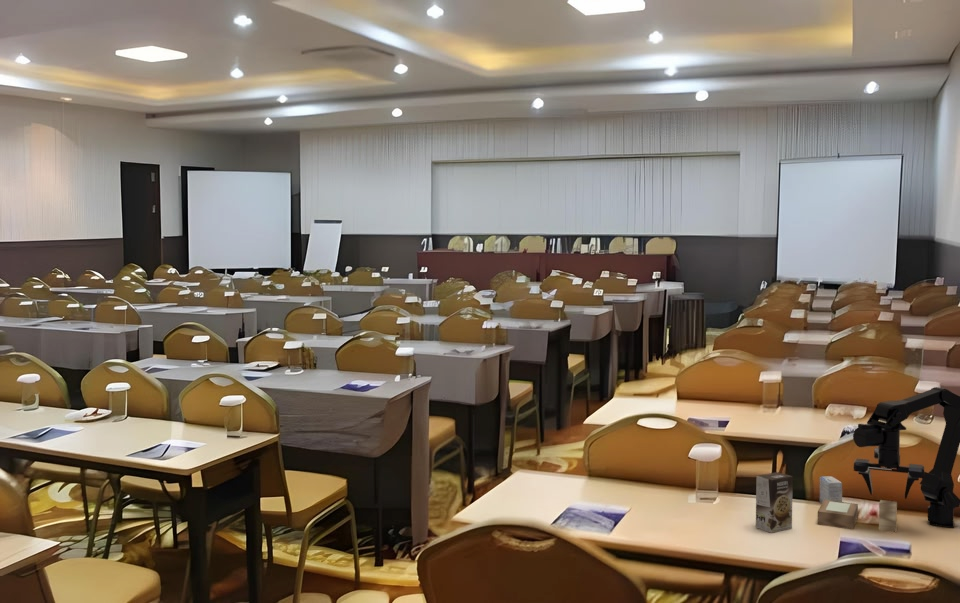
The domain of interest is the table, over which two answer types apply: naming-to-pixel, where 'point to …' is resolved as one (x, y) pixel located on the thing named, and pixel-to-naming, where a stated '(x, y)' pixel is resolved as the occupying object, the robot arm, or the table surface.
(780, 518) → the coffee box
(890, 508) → the maple block
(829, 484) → the medicine box
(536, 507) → the table surface
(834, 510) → the walnut base
